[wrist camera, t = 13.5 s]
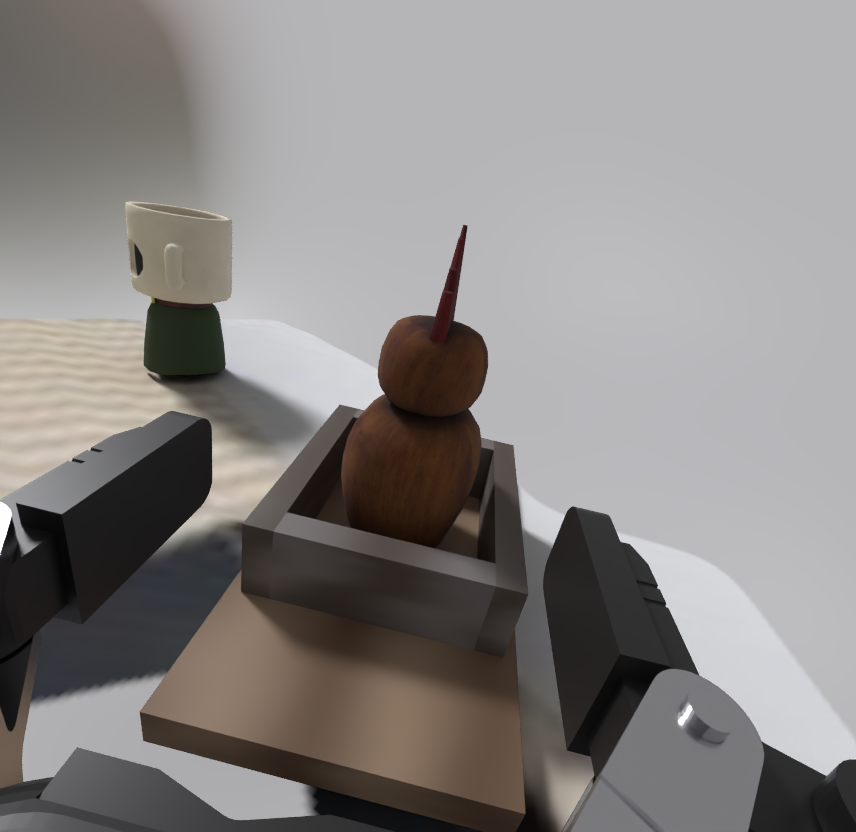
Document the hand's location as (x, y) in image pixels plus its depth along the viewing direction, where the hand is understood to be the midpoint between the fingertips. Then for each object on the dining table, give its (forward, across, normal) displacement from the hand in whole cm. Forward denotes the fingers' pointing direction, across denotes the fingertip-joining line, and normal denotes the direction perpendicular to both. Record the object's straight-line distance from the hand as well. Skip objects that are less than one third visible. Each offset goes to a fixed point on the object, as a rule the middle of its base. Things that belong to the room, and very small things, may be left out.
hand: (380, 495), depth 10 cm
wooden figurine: (+10, 0, +10) cm, 14 cm away
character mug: (+27, +22, +11) cm, 36 cm away
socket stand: (+11, 0, +11) cm, 15 cm away
